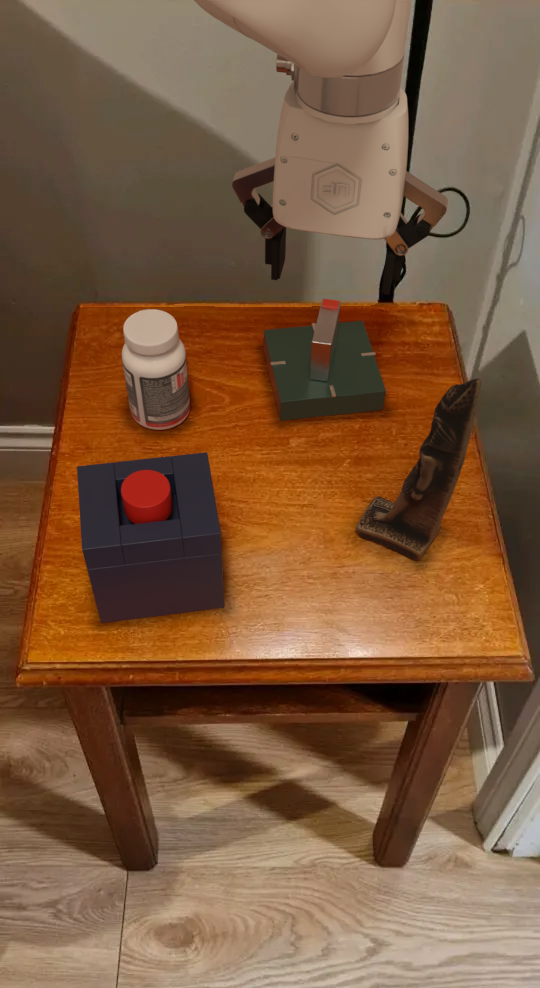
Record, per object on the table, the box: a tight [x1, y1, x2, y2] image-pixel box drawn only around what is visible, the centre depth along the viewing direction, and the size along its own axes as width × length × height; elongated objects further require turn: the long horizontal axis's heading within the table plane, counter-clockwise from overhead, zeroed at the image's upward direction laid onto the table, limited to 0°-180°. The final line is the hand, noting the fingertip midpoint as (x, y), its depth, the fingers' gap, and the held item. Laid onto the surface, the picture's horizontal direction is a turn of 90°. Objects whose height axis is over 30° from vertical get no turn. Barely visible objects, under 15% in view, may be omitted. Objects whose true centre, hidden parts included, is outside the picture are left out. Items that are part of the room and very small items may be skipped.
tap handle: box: [309, 298, 342, 382], centre depth 85 cm, size 6×2×5 cm, turn 169°
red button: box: [121, 470, 172, 524], centre depth 67 cm, size 4×4×2 cm
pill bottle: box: [121, 308, 191, 431], centre depth 82 cm, size 6×6×10 cm
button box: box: [76, 451, 225, 624], centre depth 72 cm, size 10×8×10 cm
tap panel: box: [262, 320, 387, 422], centre depth 88 cm, size 10×10×3 cm
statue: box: [355, 378, 482, 562], centre depth 70 cm, size 4×7×20 cm, turn 62°
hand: (332, 277), depth 79 cm, fingers open, 9 cm apart
